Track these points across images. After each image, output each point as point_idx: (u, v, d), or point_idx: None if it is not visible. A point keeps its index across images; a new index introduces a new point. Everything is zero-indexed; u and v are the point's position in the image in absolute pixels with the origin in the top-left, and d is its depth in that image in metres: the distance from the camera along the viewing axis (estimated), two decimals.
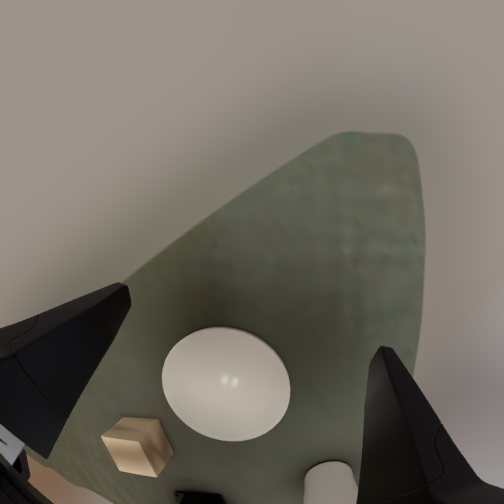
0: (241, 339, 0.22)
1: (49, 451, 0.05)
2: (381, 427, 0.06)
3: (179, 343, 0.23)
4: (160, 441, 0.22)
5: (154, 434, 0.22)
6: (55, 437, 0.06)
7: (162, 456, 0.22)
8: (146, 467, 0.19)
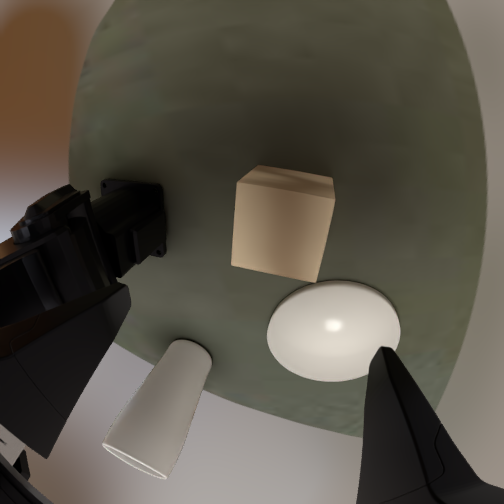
0: None
1: (49, 451, 0.05)
2: (381, 427, 0.06)
3: (398, 329, 0.20)
4: None
5: None
6: (55, 436, 0.06)
7: None
8: (256, 259, 0.16)
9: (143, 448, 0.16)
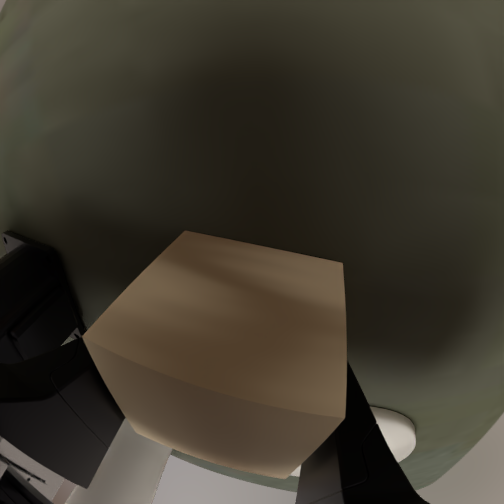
0: None
1: (90, 481, 0.05)
2: None
3: (413, 445, 0.11)
4: None
5: None
6: (96, 465, 0.06)
7: None
8: (171, 442, 0.06)
9: None
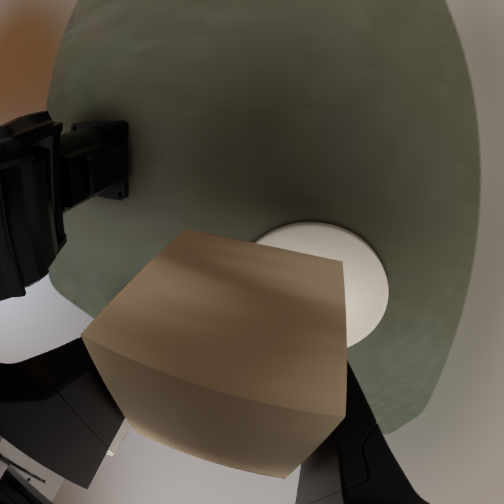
0: (354, 339, 0.21)
1: (90, 481, 0.05)
2: None
3: (386, 286, 0.18)
4: None
5: None
6: (96, 465, 0.06)
7: None
8: (170, 442, 0.06)
9: None
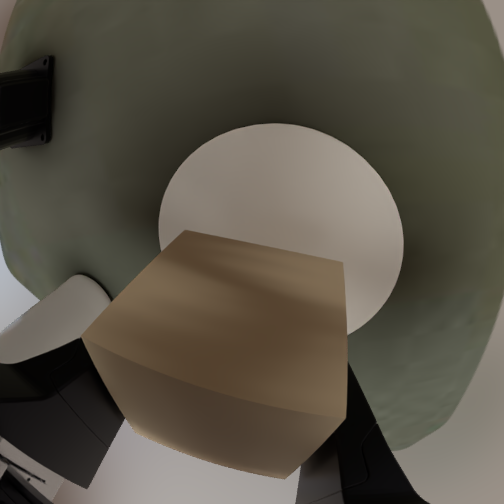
0: (352, 323, 0.13)
1: (90, 481, 0.05)
2: None
3: (398, 226, 0.10)
4: None
5: None
6: (96, 465, 0.06)
7: None
8: (170, 442, 0.06)
9: None
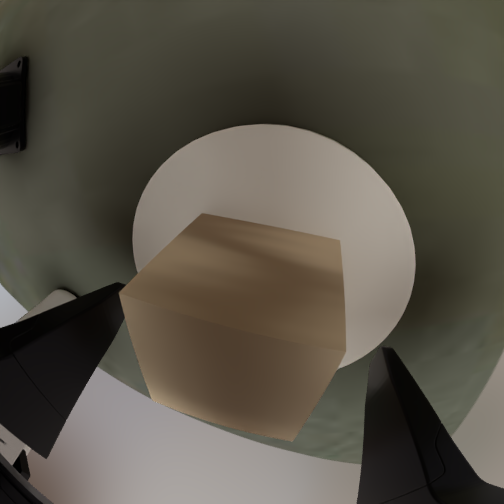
0: (352, 353, 0.11)
1: (49, 451, 0.05)
2: (382, 427, 0.06)
3: (410, 249, 0.09)
4: None
5: None
6: (55, 436, 0.06)
7: None
8: (187, 405, 0.08)
9: None
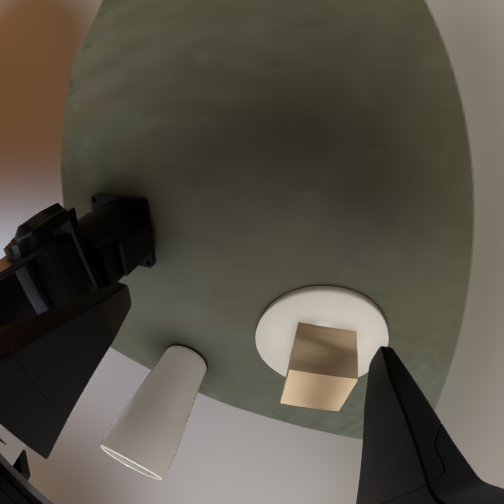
0: (360, 372, 0.23)
1: (49, 451, 0.05)
2: (381, 427, 0.06)
3: (386, 332, 0.20)
4: None
5: None
6: (55, 436, 0.06)
7: None
8: (298, 401, 0.19)
9: (137, 450, 0.17)
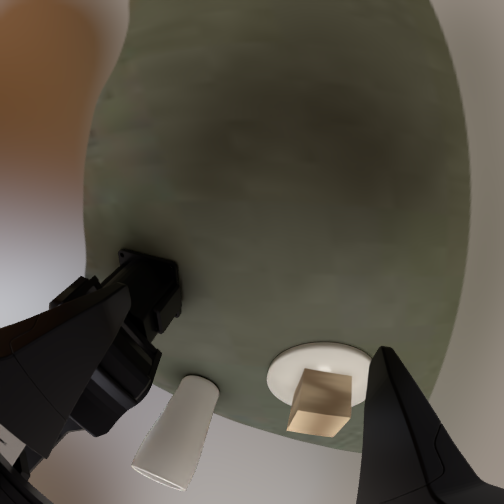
0: (352, 403, 0.27)
1: (49, 451, 0.05)
2: (381, 427, 0.06)
3: None
4: None
5: None
6: (55, 436, 0.06)
7: None
8: (301, 430, 0.23)
9: (167, 469, 0.20)
